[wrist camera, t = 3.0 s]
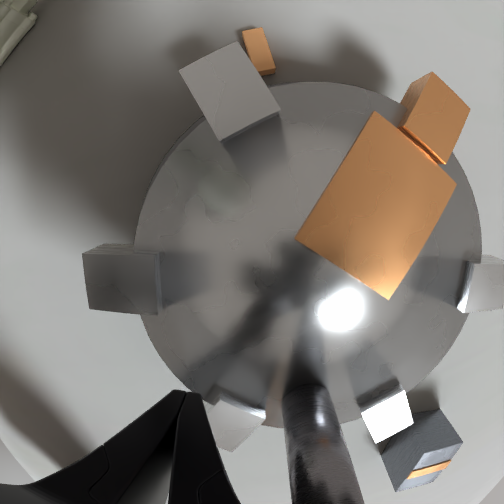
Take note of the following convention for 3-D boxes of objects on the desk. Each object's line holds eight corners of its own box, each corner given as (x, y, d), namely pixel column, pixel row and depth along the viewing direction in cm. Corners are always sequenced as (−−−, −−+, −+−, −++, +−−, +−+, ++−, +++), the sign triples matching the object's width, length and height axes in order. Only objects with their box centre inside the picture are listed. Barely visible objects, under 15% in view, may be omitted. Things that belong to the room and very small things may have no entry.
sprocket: (424, 405, 12) (481, 497, 6) (128, 395, 12) (71, 509, 5) (489, 125, 9) (609, 115, 2) (133, 63, 9) (22, -31, 2)
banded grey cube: (416, 448, 15) (433, 482, 12) (380, 454, 15) (395, 493, 12) (439, 408, 14) (463, 443, 11) (402, 414, 14) (425, 454, 11)
